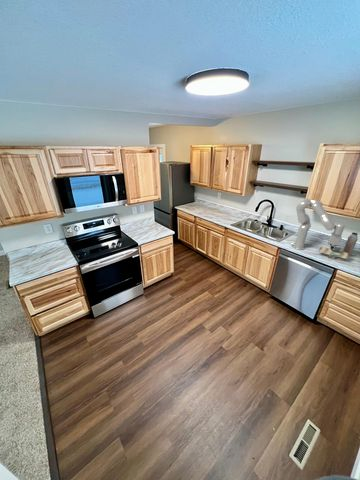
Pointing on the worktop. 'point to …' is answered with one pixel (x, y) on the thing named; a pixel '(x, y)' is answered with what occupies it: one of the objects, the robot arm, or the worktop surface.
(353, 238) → the thermos bottle
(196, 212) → the worktop surface
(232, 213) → the worktop surface
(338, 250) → the rider
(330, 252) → the beam
